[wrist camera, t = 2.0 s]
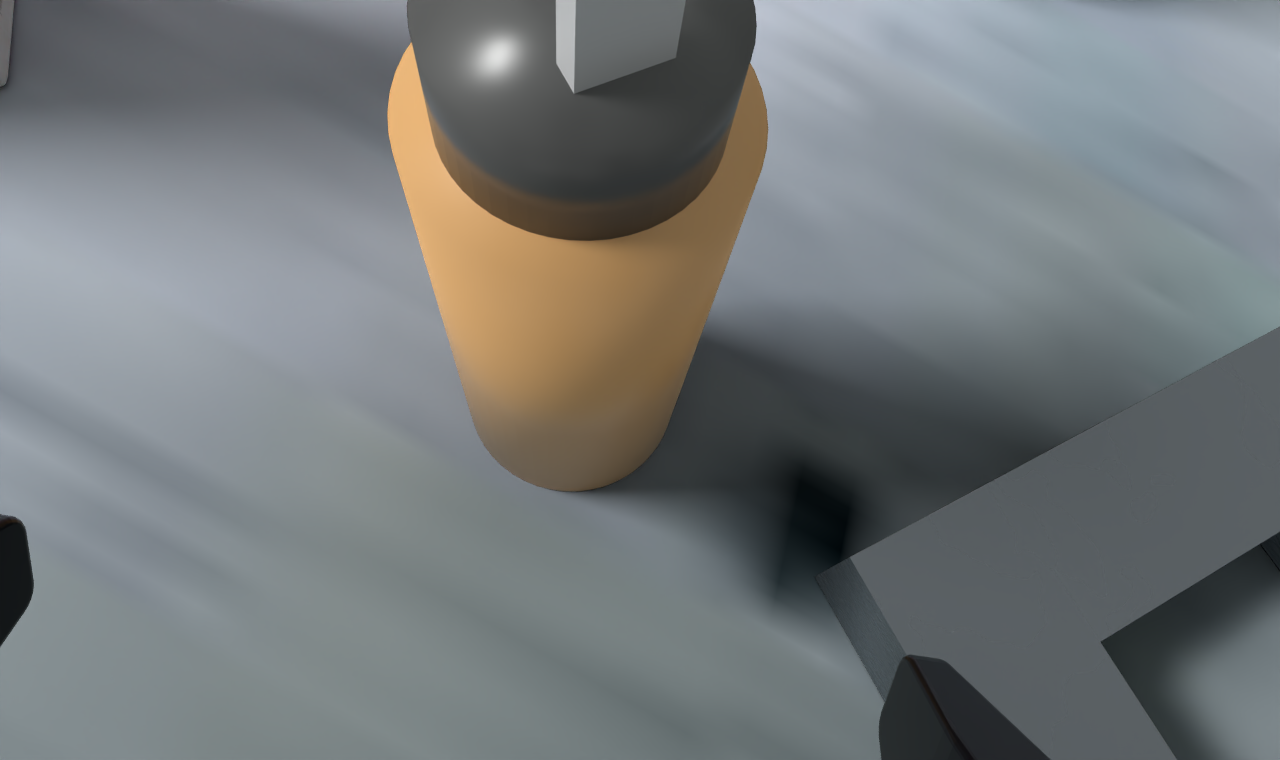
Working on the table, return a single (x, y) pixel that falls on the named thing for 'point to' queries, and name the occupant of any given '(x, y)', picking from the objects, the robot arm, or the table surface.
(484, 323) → the plug
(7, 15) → the coffee box
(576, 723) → the table surface
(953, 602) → the grey square frame
